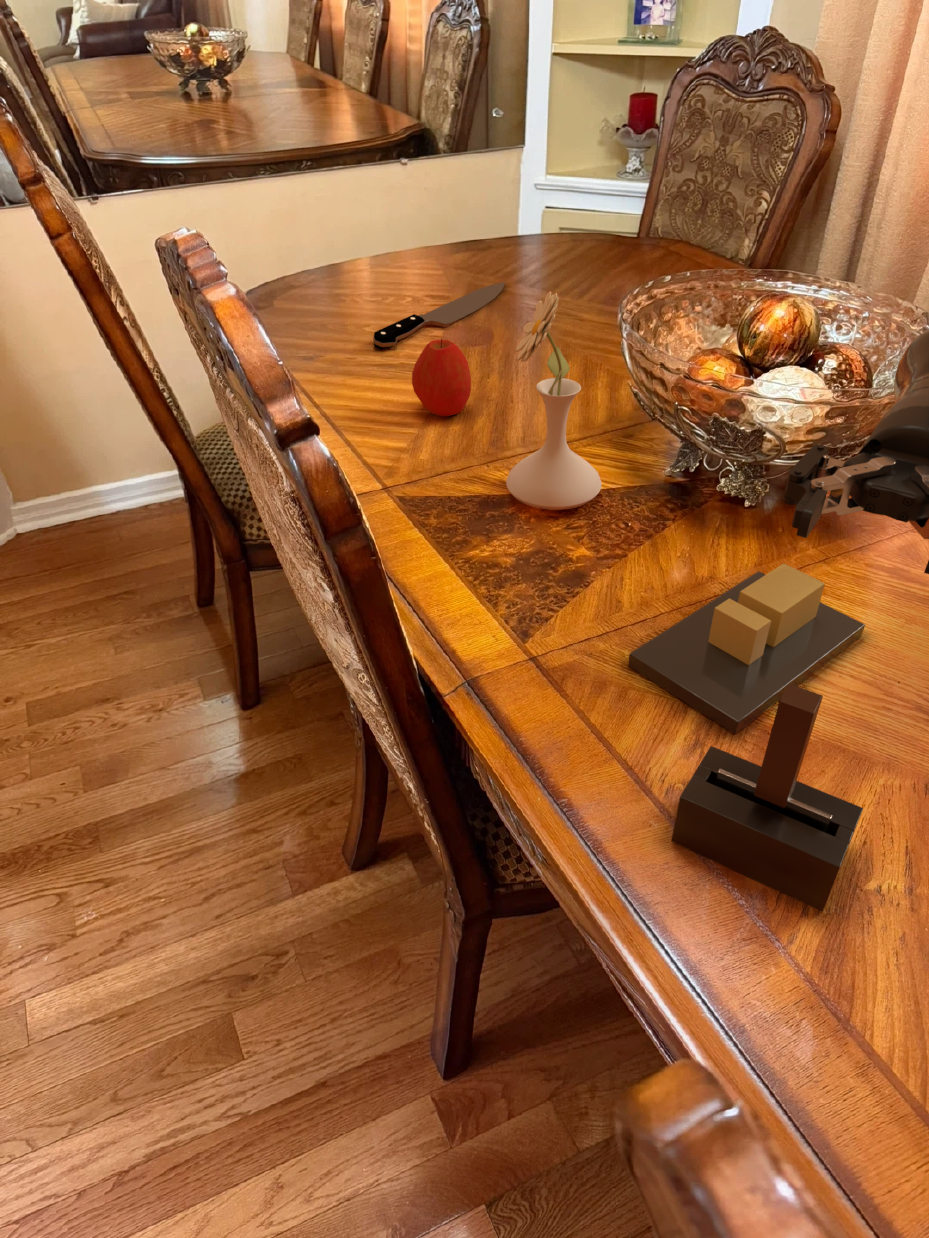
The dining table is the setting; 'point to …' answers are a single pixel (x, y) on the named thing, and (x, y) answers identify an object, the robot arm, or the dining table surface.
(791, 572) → the butter block
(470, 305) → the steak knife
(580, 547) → the dining table surface
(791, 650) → the board
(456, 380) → the apple
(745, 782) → the knife
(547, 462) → the flower in vase
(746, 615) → the block
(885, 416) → the robot arm
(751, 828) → the knife stand
